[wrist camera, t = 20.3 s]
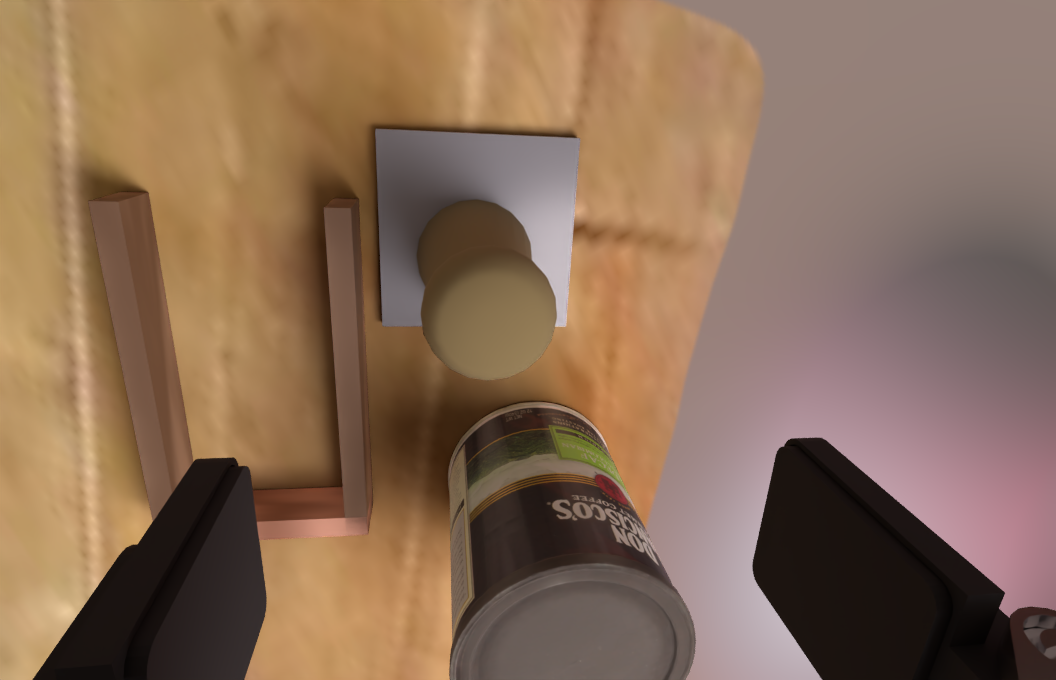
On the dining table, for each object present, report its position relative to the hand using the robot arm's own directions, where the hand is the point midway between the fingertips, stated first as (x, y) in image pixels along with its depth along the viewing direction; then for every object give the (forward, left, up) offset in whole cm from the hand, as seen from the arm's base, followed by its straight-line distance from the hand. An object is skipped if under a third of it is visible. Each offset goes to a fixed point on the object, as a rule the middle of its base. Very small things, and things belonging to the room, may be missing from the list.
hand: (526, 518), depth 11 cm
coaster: (+1, +1, -23) cm, 23 cm away
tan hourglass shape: (0, -1, -23) cm, 23 cm away
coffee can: (+4, -14, -24) cm, 28 cm away
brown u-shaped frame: (-11, -7, -23) cm, 27 cm away
